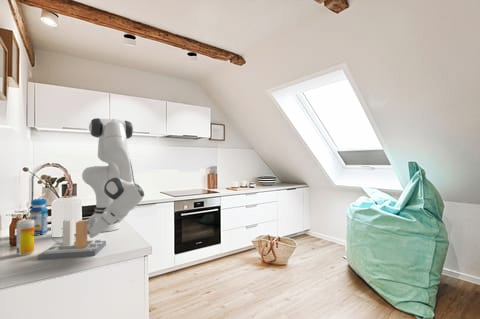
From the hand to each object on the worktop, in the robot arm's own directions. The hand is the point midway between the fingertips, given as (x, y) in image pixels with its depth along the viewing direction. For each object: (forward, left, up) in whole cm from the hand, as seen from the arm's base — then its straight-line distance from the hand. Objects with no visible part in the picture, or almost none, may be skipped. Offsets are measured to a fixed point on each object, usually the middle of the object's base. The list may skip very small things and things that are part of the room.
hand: (91, 236), depth 115 cm
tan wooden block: (-3, -2, -5) cm, 6 cm away
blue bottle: (-58, +4, -7) cm, 59 cm away
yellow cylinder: (-25, -15, -7) cm, 30 cm away
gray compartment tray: (-8, -3, -7) cm, 11 cm away
